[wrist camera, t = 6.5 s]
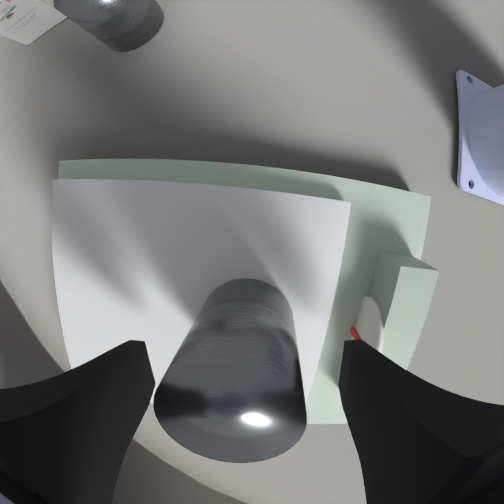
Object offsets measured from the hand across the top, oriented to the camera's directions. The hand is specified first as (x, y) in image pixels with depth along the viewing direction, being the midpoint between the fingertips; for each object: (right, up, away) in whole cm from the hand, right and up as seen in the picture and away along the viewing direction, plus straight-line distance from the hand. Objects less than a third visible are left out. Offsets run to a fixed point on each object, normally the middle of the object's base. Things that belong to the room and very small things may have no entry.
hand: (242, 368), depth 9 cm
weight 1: (-7, +18, +2) cm, 19 cm away
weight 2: (0, +1, +3) cm, 3 cm away
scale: (-1, +1, +6) cm, 6 cm away
